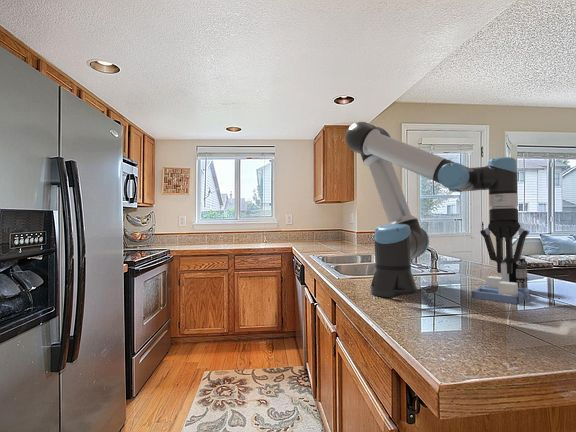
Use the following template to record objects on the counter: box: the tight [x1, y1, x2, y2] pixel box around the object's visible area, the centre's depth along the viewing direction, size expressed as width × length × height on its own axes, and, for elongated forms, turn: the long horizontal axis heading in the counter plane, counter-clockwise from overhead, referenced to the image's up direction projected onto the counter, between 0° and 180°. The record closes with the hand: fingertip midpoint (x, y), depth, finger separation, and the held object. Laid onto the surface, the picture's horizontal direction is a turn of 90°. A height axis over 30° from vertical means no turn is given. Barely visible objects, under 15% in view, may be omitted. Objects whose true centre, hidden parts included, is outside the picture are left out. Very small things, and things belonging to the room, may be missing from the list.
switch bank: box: [471, 284, 531, 305], centre depth 102 cm, size 12×14×3 cm
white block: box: [498, 281, 518, 296], centre depth 97 cm, size 4×4×5 cm
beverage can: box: [503, 255, 529, 289], centre depth 111 cm, size 7×7×12 cm
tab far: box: [485, 275, 501, 289], centre depth 106 cm, size 4×4×5 cm
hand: (505, 283), depth 104 cm, fingers closed
